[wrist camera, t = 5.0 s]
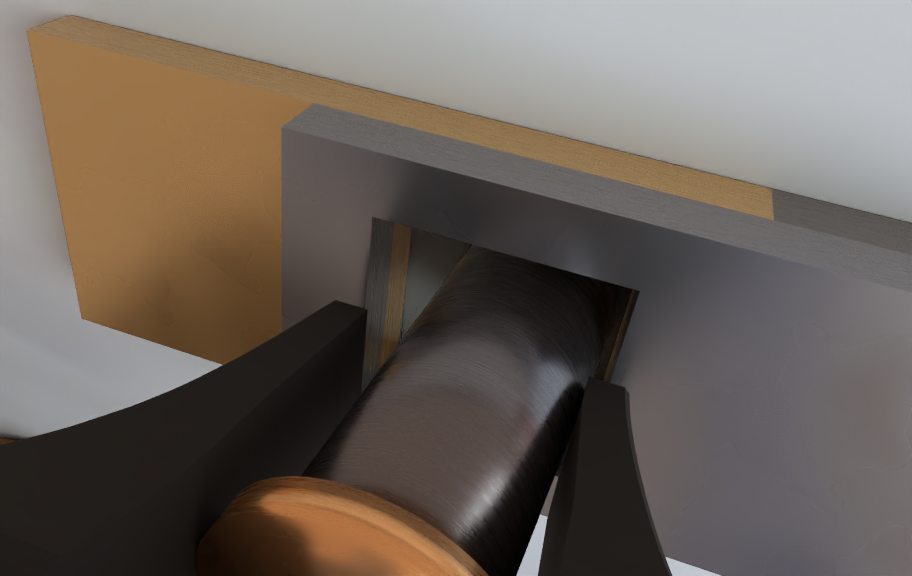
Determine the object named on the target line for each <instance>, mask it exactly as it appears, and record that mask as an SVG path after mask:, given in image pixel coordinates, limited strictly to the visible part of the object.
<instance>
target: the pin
mask: <svg viewBox="0 0 912 576" xmlns="http://www.w3.org/2000/svg"><path fill="white" fill-rule="evenodd" d="M615 316H616V303H615V296H614V292H613V289H612V286H611V284H610V283H609V282H605V281H602V280H598V279H594V278H591V277H587V276H584V275H580V274H577V273H573V272H569V271H566V270H562V269H559V268H555V267H551V266H548V265H544V264H541V263H537V262H534V261H530V260H526V259H523V258H519V257H516V256H512V255H508V254H505V253H501V252H498V251H494V250H490V249H487V248H483V247H480V246H476V245H472V246H471V247H470V248H469V249H468V251H467V252H466V253H465V255H464V256H463V257H462V259H461V260H460V261H459V263H458V264H457V265H456V267H455V268H454V270H453V271H452V272H451V274H450V275H449V276H448V278H447V279H446V280H445V282H444V283H443V284H442V286H441V287H440V288H439V290H438V291H437V292H436V294H435V295H434V296H433V298H432V299H431V301H430V302H429V303H428V305H427V306H426V307H425V309H424V310H423V311H422V313H421V314H420V315H419V317H418V318H417V319H416V321H415V322H414V323H413V325H412V326H411V328H410V329H409V330H408V332H407V333H406V334H405V336H404V337H403V338H402V340H401V341H400V342H399V344H398V345H397V346H396V348H395V349H394V350H393V352H392V353H391V354H390V356H389V357H388V359H387V360H386V361H385V363H384V364H383V365H382V367H381V368H380V369H379V371H378V372H377V373H376V375H375V376H374V377H373V379H372V380H371V381H370V383H369V384H368V386H367V387H366V388H365V390H364V391H363V392H362V394H361V395H360V396H359V398H358V399H357V400H356V402H355V403H354V404H353V406H352V407H351V408H350V410H349V411H348V412H347V414H346V415H345V417H344V418H343V419H342V421H341V422H340V423H339V425H338V426H337V427H336V429H335V430H334V431H333V433H332V434H331V435H330V437H329V438H328V439H327V441H326V442H325V444H324V445H323V446H322V448H321V449H320V450H319V452H318V453H317V454H316V456H315V457H314V458H313V460H312V461H311V462H310V464H309V465H308V466H307V468H306V469H305V471H304V472H303V473H302V475H301V476H300V477H299V476H284V477H274V478H269V479H265V480H261V481H258V482H256V483H254V484H252V485H250V486H247V487H246V488H245V489H243V490H242V491H241V492H240V493H238V494H237V495H236V497H235V498H234V499H233V500H232V501H231V503H230V504H229V505H228V506H227V508H226V509H225V510H224V511H223V513H222V514H221V515H220V516H219V518H218V519H217V520H216V521H215V523H214V524H213V525H212V526H211V527H210V529H209V530H208V531H207V532H206V534H205V535H204V537H203V538H202V539H201V541H200V543H199V546H198V549H197V553H196V570H197V576H516V575H517V572H518V570H519V567H520V564H521V562H522V559H523V557H524V554H525V552H526V549H527V546H528V544H529V541H530V539H531V536H532V534H533V531H534V529H535V526H536V523H537V521H538V518H539V516H540V513H541V511H542V508H543V505H544V503H545V500H546V498H547V495H548V493H549V490H550V487H551V485H552V482H553V480H554V477H555V475H556V472H557V469H558V467H559V464H560V462H561V459H562V457H563V454H564V451H565V449H566V446H567V444H568V441H569V439H570V436H571V433H572V431H573V428H574V425H575V422H576V419H577V415H578V412H579V408H580V405H581V401H582V398H583V394H584V391H585V387H586V384H587V381H588V378H589V377H594V374H595V372H596V369H597V367H598V364H599V362H600V359H601V356H602V354H603V351H604V349H605V346H606V344H607V341H608V338H609V336H610V333H611V331H612V328H613V325H614V321H615Z"/></svg>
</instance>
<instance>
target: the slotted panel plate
mask: <svg viewBox="0 0 912 576" xmlns="http://www.w3.org/2000/svg"><path fill="white" fill-rule="evenodd" d="M27 35H28V40H29V45H30V51H31V56H32V61H33V66H34V71H35V77H36V82H37V87H38V92H39V98H40V103H41V108H42V113H43V119H44V124H45V129H46V134H47V139H48V145H49V150H50V155H51V160H52V166H53V171H54V176H55V181H56V186H57V192H58V197H59V202H60V207H61V213H62V218H63V223H64V228H65V234H66V239H67V244H68V249H69V254H70V260H71V265H72V270H73V275H74V281H75V286H76V291H77V296H78V301H79V307H80V312H81V317H82V319H85V320H88V321H91V322H94V323H97V324H100V325H103V326H106V327H109V328H112V329H115V330H118V331H121V332H124V333H128V334H131V335H134V336H137V337H140V338H143V339H146V340H149V341H152V342H155V343H158V344H161V345H164V346H167V347H170V348H173V349H176V350H180V351H183V352H186V353H189V354H192V355H195V356H198V357H201V358H204V359H207V360H210V361H213V362H216V363H219V364H222V365H225V364H226V363H228V362H230V361H232V360H234V359H236V358H238V357H240V356H242V355H243V354H245V353H247V352H249V351H250V350H252V349H254V348H256V347H257V346H259V345H261V344H263V343H264V342H266V341H268V340H269V339H271V338H273V337H275V336H276V335H278V334H280V333H281V332H283V331H285V330H286V329H288V328H290V327H291V326H293V325H295V324H296V323H298V322H300V321H301V320H303V319H304V318H306V317H308V316H309V315H311V314H313V313H314V312H316V311H318V310H319V309H321V308H323V307H324V306H326V305H328V304H330V303H331V302H333V301H335V300H338V301H341V302H344V303H348V304H351V305H354V306H358V307H361V308H364V309H368V312H367V325H366V337H365V350H364V362H363V375H362V387H361V394H362V392H363V391H364V390H365V388H366V387H367V386H368V384H369V383H370V381H371V380H372V379H373V377H374V376H375V375H376V373H377V372H378V371H379V369H380V368H381V367H382V365H383V364H384V363H385V361H386V360H387V359H388V357H389V356H390V354H391V353H392V352H393V350H394V349H395V348H396V346H397V345H398V344H399V342H400V333H401V324H402V315H403V306H404V298H405V289H406V280H407V271H408V262H409V253H410V244H411V236H412V228H415V229H419V230H422V231H426V232H429V233H433V234H437V235H440V236H444V237H447V238H451V239H455V240H458V241H462V242H465V243H469V244H473V245H476V246H480V247H483V248H487V249H490V250H494V251H498V252H501V253H505V254H508V255H512V256H516V257H519V258H523V259H526V260H530V261H534V262H537V263H541V264H544V265H548V266H551V267H555V268H559V269H562V270H566V271H569V272H573V273H577V274H580V275H584V276H587V277H591V278H594V279H598V280H602V281H605V282H609V283H612V284H616V285H620V286H623V287H627V288H630V289H632V293H631V296H630V299H629V302H628V305H627V308H626V311H625V314H624V317H623V320H622V324H621V327H620V330H619V333H618V336H617V339H616V342H615V345H614V348H613V351H612V355H611V358H610V361H609V364H608V367H607V370H606V373H605V376H604V379H603V381H606V382H609V383H613V384H616V385H619V386H622V387H625V388H626V390H627V391H628V393H629V394H630V416H631V425H632V432H633V438H634V445H635V450H636V455H637V460H638V465H639V469H640V473H641V478H642V482H643V486H644V490H645V494H646V498H647V502H648V505H649V509H650V512H651V516H652V519H653V522H654V525H655V528H656V532H657V535H658V538H659V541H660V544H661V547H662V550H663V553H664V555H665V557H668V558H671V559H674V560H677V561H680V562H683V563H686V564H689V565H692V566H695V567H698V568H701V569H704V570H707V571H710V572H713V573H716V574H719V575H722V576H912V223H908V222H904V221H900V220H896V219H892V218H888V217H884V216H880V215H876V214H872V213H868V212H864V211H859V210H855V209H851V208H847V207H843V206H839V205H835V204H831V203H827V202H823V201H819V200H815V199H811V198H807V197H803V196H799V195H795V194H791V193H787V192H783V191H779V190H775V189H771V188H767V187H763V186H759V185H755V184H750V183H746V182H742V181H738V180H734V179H730V178H726V177H722V176H718V175H714V174H710V173H706V172H702V171H698V170H694V169H690V168H686V167H682V166H678V165H674V164H670V163H666V162H662V161H658V160H654V159H650V158H645V157H641V156H637V155H633V154H629V153H625V152H621V151H617V150H613V149H609V148H605V147H601V146H597V145H593V144H589V143H585V142H581V141H577V140H573V139H569V138H565V137H561V136H557V135H553V134H549V133H545V132H541V131H536V130H532V129H528V128H524V127H520V126H516V125H512V124H508V123H504V122H500V121H496V120H492V119H488V118H484V117H480V116H476V115H472V114H468V113H464V112H460V111H456V110H452V109H448V108H444V107H440V106H436V105H432V104H427V103H423V102H419V101H415V100H411V99H407V98H403V97H399V96H395V95H391V94H387V93H383V92H379V91H375V90H371V89H367V88H363V87H359V86H355V85H351V84H347V83H343V82H339V81H335V80H331V79H327V78H322V77H318V76H314V75H310V74H306V73H302V72H298V71H294V70H290V69H286V68H282V67H278V66H274V65H270V64H266V63H262V62H258V61H254V60H250V59H246V58H242V57H238V56H234V55H230V54H226V53H222V52H218V51H213V50H209V49H205V48H201V47H197V46H193V45H189V44H185V43H181V42H177V41H173V40H169V39H165V38H161V37H157V36H153V35H149V34H145V33H141V32H137V31H133V30H129V29H125V28H121V27H117V26H113V25H109V24H104V23H100V22H96V21H92V20H88V19H84V18H80V17H76V16H72V15H69V16H66V17H64V18H61V19H58V20H55V21H52V22H49V23H46V24H43V25H40V26H37V27H34V28H31V29H28V30H27ZM568 443H569V441H568ZM567 446H568V444H567ZM567 446H566V449H567ZM566 449H565V451H564V454H563V457H562V459H561V462H560V464H559V467H558V469H557V472H556V475H555V477H554V480H553V482H552V485H551V487H550V490H549V493H548V495H547V498H546V500H545V503H544V505H543V508H542V511H541V513H540V514H541V515H544V516H547V517H548V513H549V509H550V506H551V502H552V499H553V495H554V491H555V488H556V484H557V480H558V477H559V473H560V470H561V466H562V462H563V459H564V456H565V452H566Z"/></svg>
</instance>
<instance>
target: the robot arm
mask: <svg viewBox="0 0 912 576" xmlns="http://www.w3.org/2000/svg"><path fill="white" fill-rule="evenodd" d="M367 312H368V309H364V308H361V307H358V306H354V305H351V304H348V303H344V302H341V301H338V300H335V301H333V302H331V303H330V304H328V305H326V306H324V307H323V308H321V309H319V310H318V311H316V312H314V313H313V314H311V315H309V316H308V317H306V318H304V319H303V320H301V321H300V322H298V323H296V324H295V325H293V326H291V327H290V328H288V329H286V330H285V331H283V332H281V333H280V334H278V335H276V336H275V337H273V338H271V339H269V340H268V341H266V342H264V343H263V344H261V345H259V346H257V347H256V348H254V349H252V350H250V351H249V352H247V353H245V354H243V355H242V356H240V357H238V358H236V359H234V360H232V361H230V362H228V363H226V364H225V365H223V366H221V367H219V368H217V369H215V370H213V371H211V372H209V373H207V374H205V375H203V376H201V377H199V378H197V379H195V380H193V381H191V382H189V383H187V384H184V385H182V386H180V387H178V388H175V389H173V390H171V391H169V392H166V393H164V394H161V395H159V396H156V397H154V398H151V399H149V400H146V401H144V402H141V403H139V404H136V405H134V406H131V407H128V408H125V409H122V410H119V411H116V412H113V413H110V414H107V415H104V416H101V417H98V418H95V419H92V420H89V421H86V422H83V423H80V424H77V425H74V426H71V427H67V428H64V429H60V430H56V431H53V432H49V433H46V434H42V435H38V436H34V437H30V438H26V439H22V440H18V441H14V442H10V443H6V444H1V445H0V576H197V570H196V553H197V549H198V546H199V543H200V541H201V539H202V538H203V537H204V535H205V534H206V532H207V531H208V530H209V529H210V527H211V526H212V525H213V524H214V523H215V521H216V520H217V519H218V518H219V516H220V515H221V514H222V513H223V511H224V510H225V509H226V508H227V506H228V505H229V504H230V503H231V501H232V500H233V499H234V498H235V497H236V495H237V494H238V493H240V492H241V491H242V490H243V489H245V488H246V487H247V486H250V485H252V484H254V483H256V482H258V481H261V480H265V479H269V478H274V477H284V476H299V477H300V476H301V475H302V473H303V472H304V471H305V469H306V468H307V466H308V465H309V464H310V462H311V461H312V460H313V458H314V457H315V456H316V454H317V453H318V452H319V450H320V449H321V448H322V446H323V445H324V444H325V442H326V441H327V439H328V438H329V437H330V435H331V434H332V433H333V431H334V430H335V429H336V427H337V426H338V425H339V423H340V422H341V421H342V419H343V418H344V417H345V415H346V414H347V412H348V411H349V410H350V408H351V407H352V406H353V404H354V403H355V402H356V400H357V399H358V398H359V396H360V395H361V387H362V375H363V362H364V350H365V337H366V325H367ZM538 576H672V574H671V571H670V569H669V566H668V564H667V561H666V558H665V555H664V553H663V550H662V547H661V544H660V541H659V538H658V535H657V532H656V528H655V525H654V522H653V519H652V516H651V512H650V509H649V505H648V502H647V498H646V494H645V490H644V486H643V482H642V478H641V473H640V469H639V465H638V460H637V455H636V450H635V445H634V438H633V432H632V425H631V416H630V394H629V393H628V391H627V390H626V388H625V387H622V386H619V385H616V384H613V383H609V382H606V381H603V380H599V379H596V378H593V377H589V378H588V381H587V384H586V387H585V391H584V394H583V398H582V401H581V405H580V408H579V412H578V415H577V419H576V422H575V425H574V428H573V431H572V433H571V436H570V439H569V443H568V446H567V449H566V452H565V456H564V459H563V462H562V466H561V470H560V473H559V477H558V480H557V484H556V488H555V491H554V495H553V499H552V502H551V506H550V509H549V513H548V519H547V525H546V531H545V536H544V542H543V548H542V554H541V560H540V566H539V572H538Z"/></svg>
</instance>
